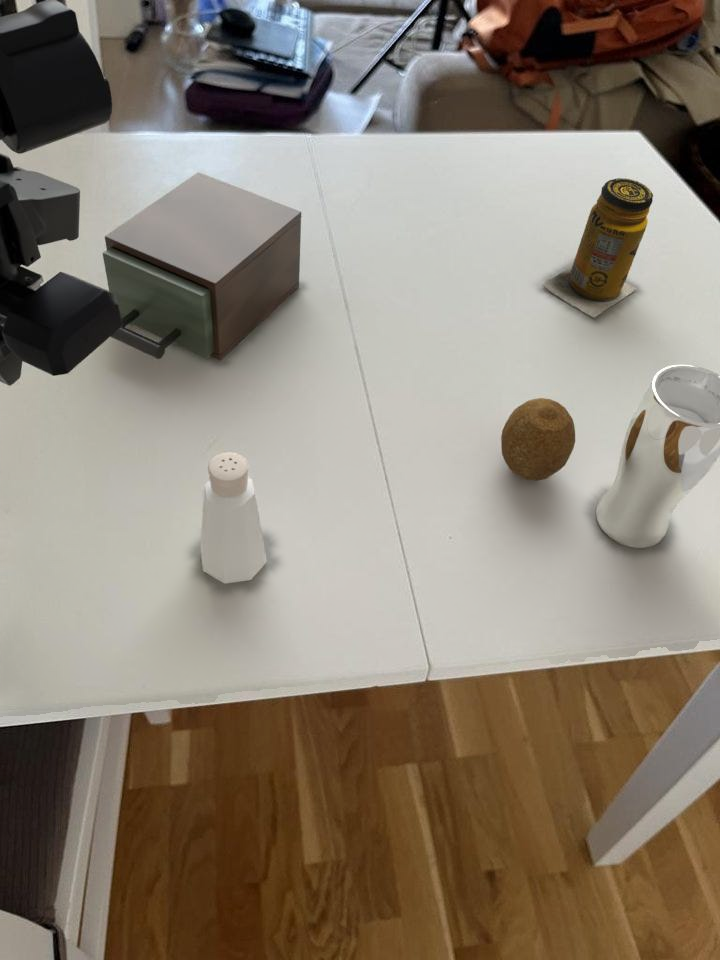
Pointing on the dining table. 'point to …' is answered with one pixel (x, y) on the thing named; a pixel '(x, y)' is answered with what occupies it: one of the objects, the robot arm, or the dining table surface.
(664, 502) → the beer glass
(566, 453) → the fruit
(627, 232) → the condiment
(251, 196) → the cabinet
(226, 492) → the salt shaker
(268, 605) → the dining table surface
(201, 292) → the drawer
